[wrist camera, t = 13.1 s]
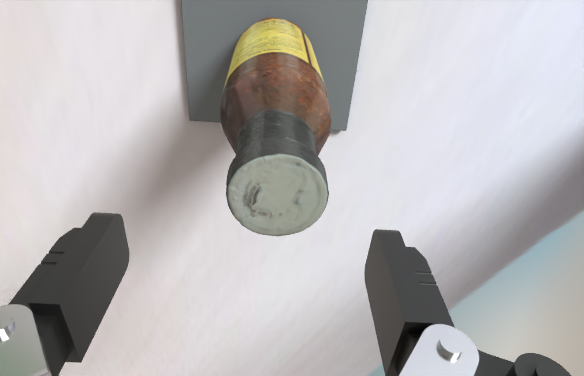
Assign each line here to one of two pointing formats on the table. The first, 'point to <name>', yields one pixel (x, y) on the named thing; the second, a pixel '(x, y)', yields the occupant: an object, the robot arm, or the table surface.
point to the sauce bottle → (275, 129)
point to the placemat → (250, 9)
